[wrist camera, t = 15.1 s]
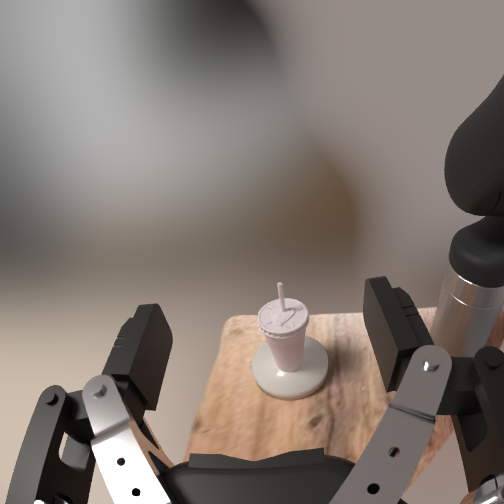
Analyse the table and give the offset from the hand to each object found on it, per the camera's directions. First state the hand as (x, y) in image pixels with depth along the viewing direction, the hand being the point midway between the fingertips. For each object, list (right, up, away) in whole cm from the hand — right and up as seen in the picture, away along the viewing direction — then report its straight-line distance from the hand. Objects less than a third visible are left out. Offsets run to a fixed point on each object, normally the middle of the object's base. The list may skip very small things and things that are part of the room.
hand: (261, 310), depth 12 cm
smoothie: (+5, -14, +31) cm, 34 cm away
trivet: (+5, -15, +32) cm, 36 cm away
